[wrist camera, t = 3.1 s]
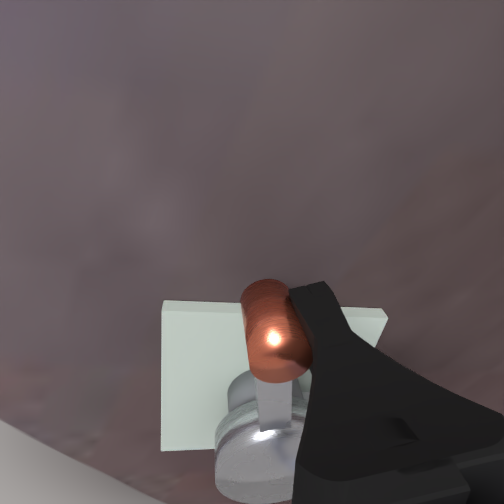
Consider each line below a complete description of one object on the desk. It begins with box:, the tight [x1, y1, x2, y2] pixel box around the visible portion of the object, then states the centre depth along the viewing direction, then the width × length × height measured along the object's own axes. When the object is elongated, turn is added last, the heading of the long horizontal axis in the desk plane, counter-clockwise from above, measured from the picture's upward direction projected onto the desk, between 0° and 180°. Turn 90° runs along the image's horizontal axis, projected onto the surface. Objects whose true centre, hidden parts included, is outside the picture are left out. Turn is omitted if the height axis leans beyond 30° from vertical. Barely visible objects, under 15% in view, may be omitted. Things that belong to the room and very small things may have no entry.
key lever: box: [215, 279, 313, 504], centre depth 14 cm, size 13×6×3 cm, turn 3°
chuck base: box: [161, 300, 388, 451], centre depth 18 cm, size 12×14×3 cm
